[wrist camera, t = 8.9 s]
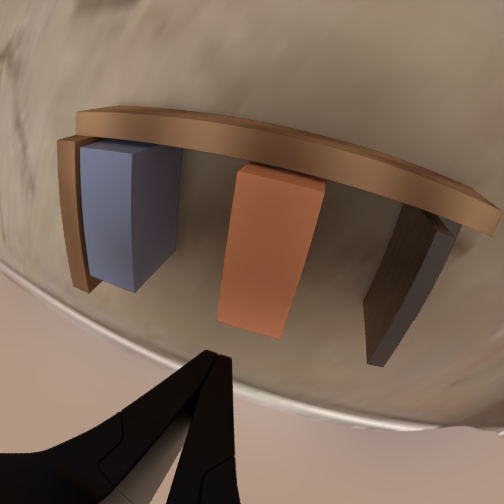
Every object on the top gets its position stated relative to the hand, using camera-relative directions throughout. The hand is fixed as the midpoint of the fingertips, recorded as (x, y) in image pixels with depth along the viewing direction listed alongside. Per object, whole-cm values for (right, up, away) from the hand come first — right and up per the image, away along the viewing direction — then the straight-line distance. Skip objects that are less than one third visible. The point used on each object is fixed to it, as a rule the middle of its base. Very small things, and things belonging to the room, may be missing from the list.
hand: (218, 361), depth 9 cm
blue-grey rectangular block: (-5, +7, +11) cm, 14 cm away
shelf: (+2, +5, +9) cm, 11 cm away
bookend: (+11, +3, +8) cm, 14 cm away
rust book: (+3, +5, +9) cm, 11 cm away
